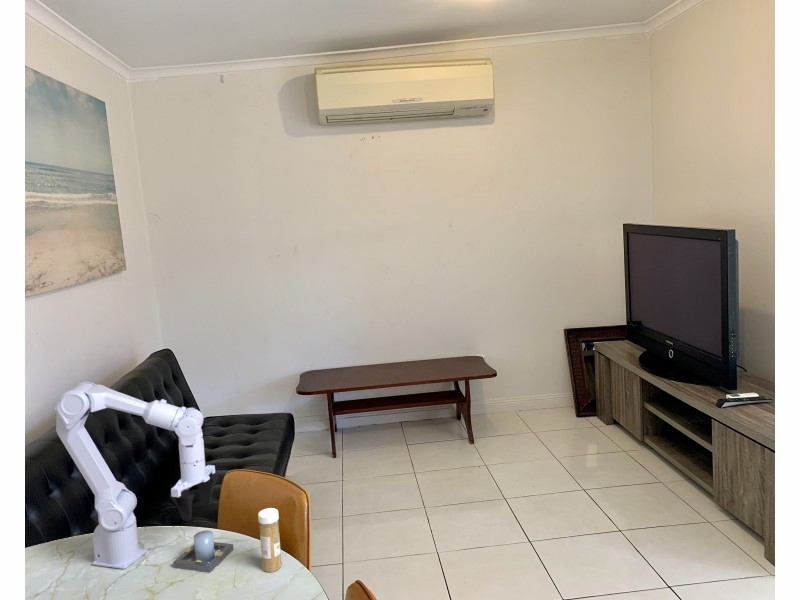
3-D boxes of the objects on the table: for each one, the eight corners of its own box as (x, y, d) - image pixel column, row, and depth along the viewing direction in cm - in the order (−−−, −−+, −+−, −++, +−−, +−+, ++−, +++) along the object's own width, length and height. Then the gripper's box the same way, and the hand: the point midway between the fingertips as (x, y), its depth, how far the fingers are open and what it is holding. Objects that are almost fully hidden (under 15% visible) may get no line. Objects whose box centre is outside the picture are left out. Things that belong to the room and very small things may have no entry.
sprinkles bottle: (285, 568, 130) (281, 512, 129) (266, 575, 127) (261, 518, 126) (277, 559, 134) (273, 505, 132) (259, 566, 131) (255, 511, 130)
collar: (173, 567, 132) (173, 561, 132) (199, 545, 141) (198, 539, 141) (210, 572, 129) (209, 565, 129) (233, 549, 139) (233, 543, 139)
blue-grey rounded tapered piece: (205, 566, 132) (203, 542, 131) (189, 564, 133) (187, 540, 133) (220, 553, 137) (218, 530, 137) (205, 551, 139) (203, 527, 138)
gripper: (187, 472, 130) (191, 528, 131) (223, 449, 144) (227, 500, 145) (161, 470, 132) (166, 525, 133) (200, 447, 146) (204, 498, 147)
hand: (196, 512), depth 139 cm, fingers open, 7 cm apart
